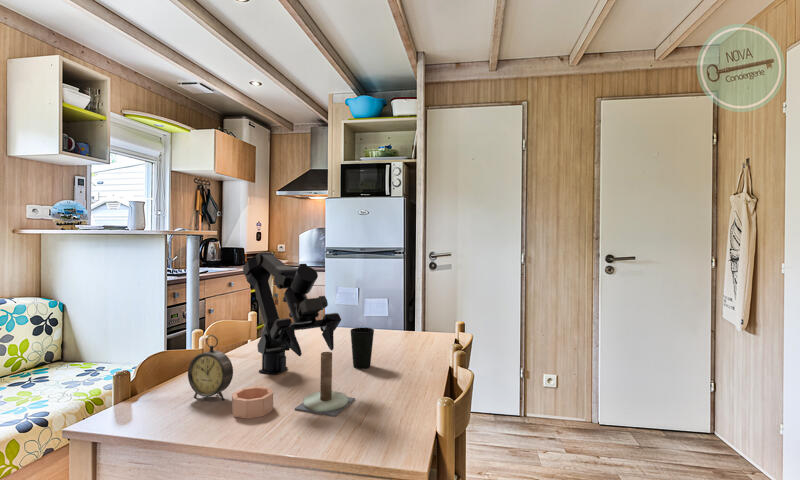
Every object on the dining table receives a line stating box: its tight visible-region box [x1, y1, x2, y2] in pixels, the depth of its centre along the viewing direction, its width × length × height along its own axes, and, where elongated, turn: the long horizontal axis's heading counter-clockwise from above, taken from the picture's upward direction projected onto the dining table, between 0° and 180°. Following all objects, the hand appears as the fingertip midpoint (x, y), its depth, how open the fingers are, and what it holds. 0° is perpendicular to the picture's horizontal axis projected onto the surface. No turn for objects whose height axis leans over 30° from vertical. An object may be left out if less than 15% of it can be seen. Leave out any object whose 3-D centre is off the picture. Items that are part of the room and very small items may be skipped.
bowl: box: [231, 385, 274, 419], centre depth 101 cm, size 9×9×4 cm
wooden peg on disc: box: [302, 351, 349, 412], centre depth 104 cm, size 11×11×12 cm
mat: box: [294, 396, 356, 417], centre depth 104 cm, size 11×11×1 cm
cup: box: [350, 326, 375, 370], centre depth 136 cm, size 8×8×12 cm
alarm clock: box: [187, 334, 234, 401], centre depth 108 cm, size 11×5×16 cm, turn 75°
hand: (316, 352), depth 108 cm, fingers open, 9 cm apart
